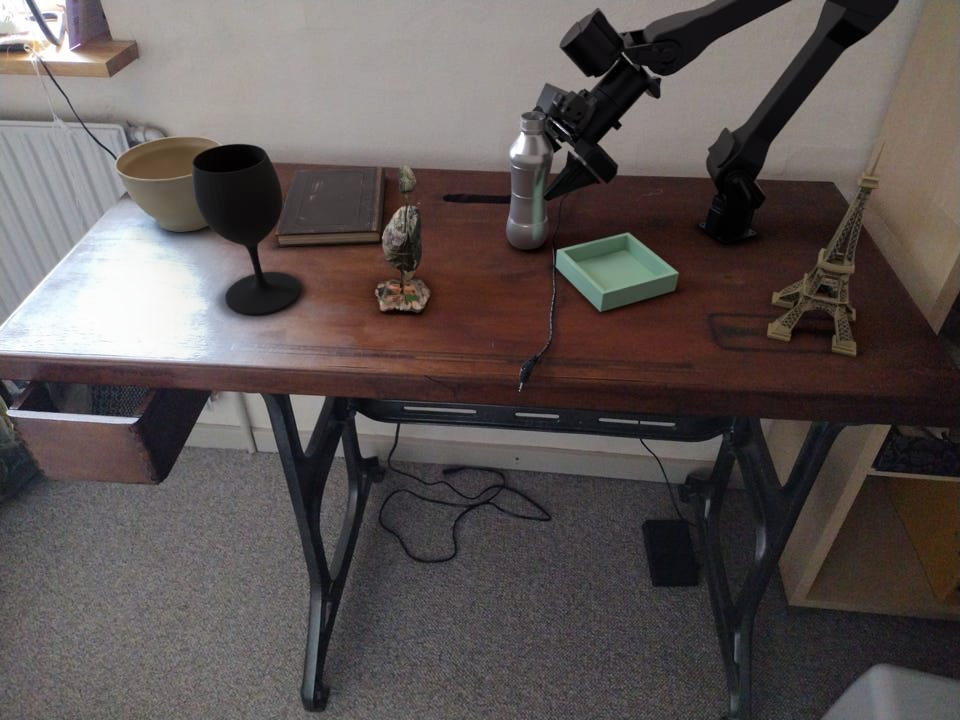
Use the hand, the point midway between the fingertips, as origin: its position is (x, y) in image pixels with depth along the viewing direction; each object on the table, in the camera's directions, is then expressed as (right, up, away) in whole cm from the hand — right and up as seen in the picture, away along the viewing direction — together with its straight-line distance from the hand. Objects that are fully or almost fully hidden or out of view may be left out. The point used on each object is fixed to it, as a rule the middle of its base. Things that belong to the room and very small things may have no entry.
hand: (531, 185), depth 99 cm
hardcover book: (-32, -1, +15) cm, 35 cm away
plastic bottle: (0, -8, +6) cm, 10 cm away
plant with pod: (-18, -17, -4) cm, 25 cm away
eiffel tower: (+36, -21, -10) cm, 43 cm away
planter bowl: (-56, -3, +12) cm, 57 cm away
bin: (+12, -14, -1) cm, 18 cm away
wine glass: (-38, -17, -4) cm, 42 cm away
